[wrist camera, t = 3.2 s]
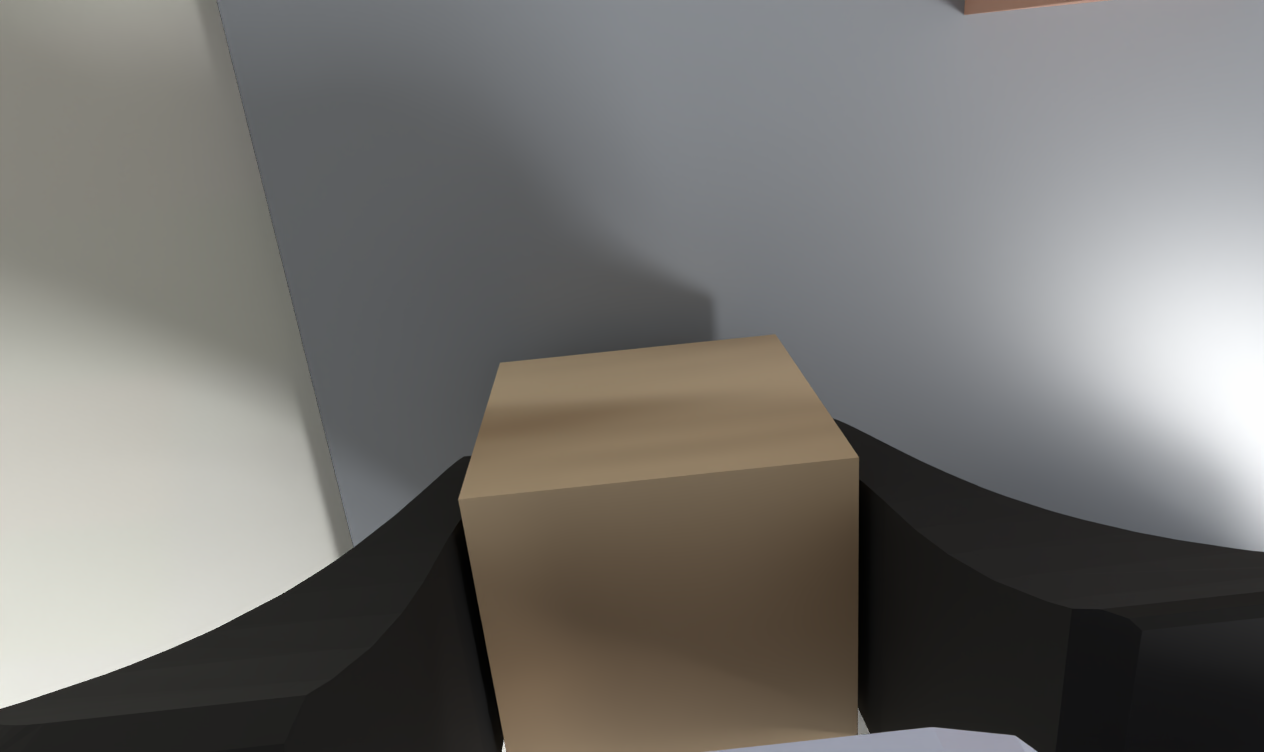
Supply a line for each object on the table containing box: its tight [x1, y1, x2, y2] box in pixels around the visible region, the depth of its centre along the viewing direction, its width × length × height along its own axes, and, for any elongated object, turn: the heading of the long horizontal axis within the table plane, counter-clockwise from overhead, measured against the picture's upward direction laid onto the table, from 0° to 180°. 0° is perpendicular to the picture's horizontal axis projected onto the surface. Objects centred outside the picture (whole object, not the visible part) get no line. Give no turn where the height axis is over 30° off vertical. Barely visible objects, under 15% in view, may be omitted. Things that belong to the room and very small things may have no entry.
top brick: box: [458, 334, 859, 752], centre depth 11 cm, size 4×4×4 cm
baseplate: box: [217, 0, 1264, 552], centre depth 12 cm, size 16×18×1 cm
